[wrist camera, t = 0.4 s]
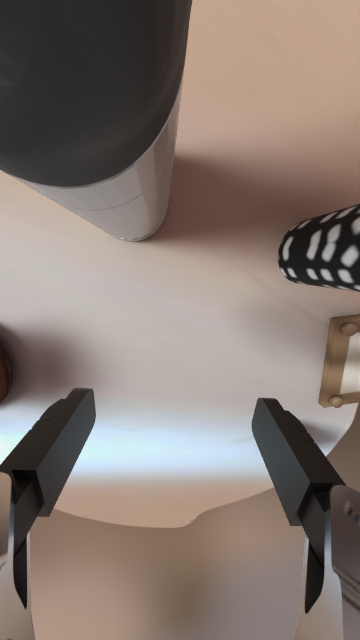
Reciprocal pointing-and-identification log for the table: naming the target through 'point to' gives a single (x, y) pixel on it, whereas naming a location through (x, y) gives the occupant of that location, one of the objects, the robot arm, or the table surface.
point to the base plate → (341, 363)
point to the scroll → (4, 376)
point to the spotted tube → (324, 251)
